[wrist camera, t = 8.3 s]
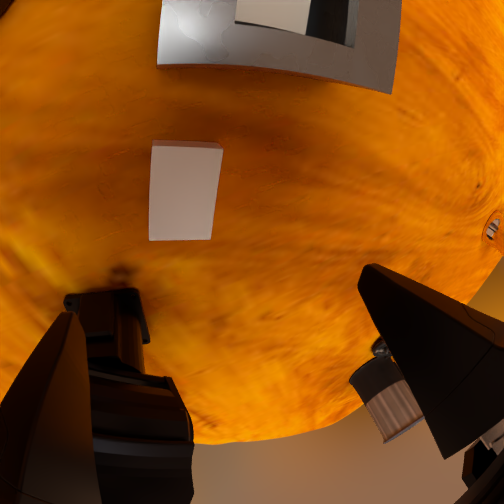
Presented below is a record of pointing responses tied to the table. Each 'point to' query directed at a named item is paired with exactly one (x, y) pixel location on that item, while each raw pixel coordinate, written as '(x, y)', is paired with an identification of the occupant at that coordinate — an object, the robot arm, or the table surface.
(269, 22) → the block
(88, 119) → the table surface
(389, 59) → the grey hollow block
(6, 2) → the supplement bottle
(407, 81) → the table surface
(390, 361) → the milk frother
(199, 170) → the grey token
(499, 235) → the beer glass
